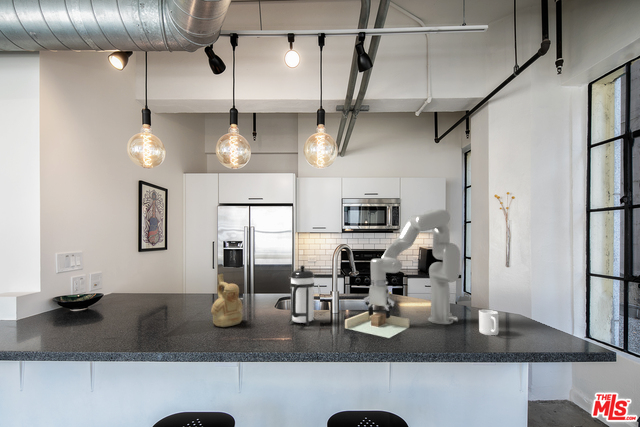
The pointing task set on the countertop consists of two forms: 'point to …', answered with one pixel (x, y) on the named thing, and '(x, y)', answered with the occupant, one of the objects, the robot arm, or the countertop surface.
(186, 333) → the countertop surface
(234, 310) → the ceramic vessel
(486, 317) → the cup
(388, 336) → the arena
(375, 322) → the copper block
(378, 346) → the countertop surface
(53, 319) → the countertop surface
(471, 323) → the countertop surface
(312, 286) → the coffee press
